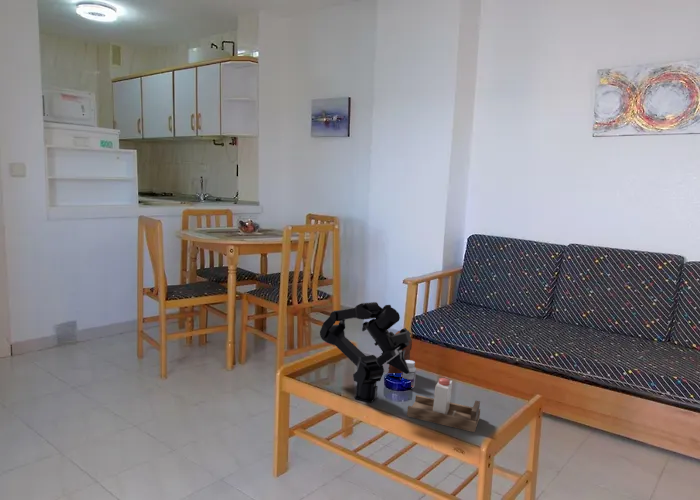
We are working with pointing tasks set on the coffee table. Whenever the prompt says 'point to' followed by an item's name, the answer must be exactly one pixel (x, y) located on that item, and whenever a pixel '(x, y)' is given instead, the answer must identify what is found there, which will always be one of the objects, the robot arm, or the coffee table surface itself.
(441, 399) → the white carton
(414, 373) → the pill bottle
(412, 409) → the wooden tray
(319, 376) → the coffee table surface
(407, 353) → the wooden figurine
